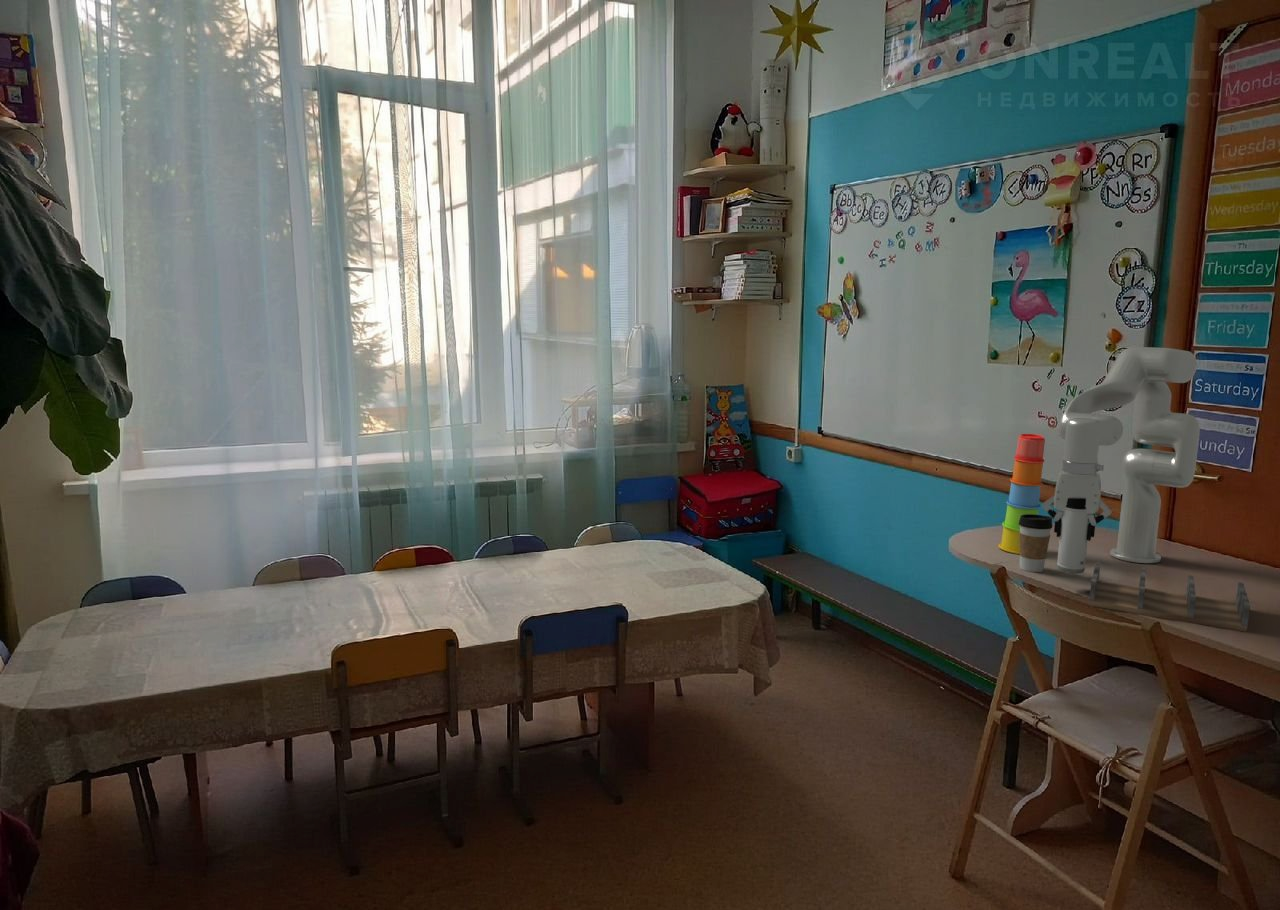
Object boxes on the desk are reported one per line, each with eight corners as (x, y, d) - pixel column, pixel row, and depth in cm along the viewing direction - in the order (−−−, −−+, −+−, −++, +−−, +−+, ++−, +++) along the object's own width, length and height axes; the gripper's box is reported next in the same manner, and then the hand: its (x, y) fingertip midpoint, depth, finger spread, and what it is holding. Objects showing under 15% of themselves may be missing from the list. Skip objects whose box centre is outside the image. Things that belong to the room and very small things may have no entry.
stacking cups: (1030, 545, 251) (1040, 432, 245) (1040, 555, 241) (1051, 437, 235) (994, 544, 253) (1004, 431, 247) (1003, 553, 243) (1012, 436, 237)
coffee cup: (1036, 575, 223) (1041, 521, 221) (1008, 567, 230) (1012, 514, 228) (1054, 570, 228) (1060, 517, 225) (1026, 562, 235) (1031, 510, 232)
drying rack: (1093, 584, 216) (1096, 561, 215) (1239, 607, 200) (1243, 582, 199) (1088, 605, 201) (1091, 580, 200) (1246, 631, 185) (1250, 605, 184)
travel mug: (1089, 574, 208) (1096, 497, 204) (1060, 573, 209) (1067, 496, 205) (1081, 566, 214) (1088, 490, 210) (1053, 565, 215) (1060, 490, 211)
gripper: (1120, 468, 205) (1113, 538, 209) (1043, 462, 214) (1037, 529, 218) (1118, 474, 199) (1112, 546, 203) (1039, 467, 208) (1034, 536, 211)
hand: (1073, 536), depth 210 cm, fingers closed on travel mug, 6 cm apart
